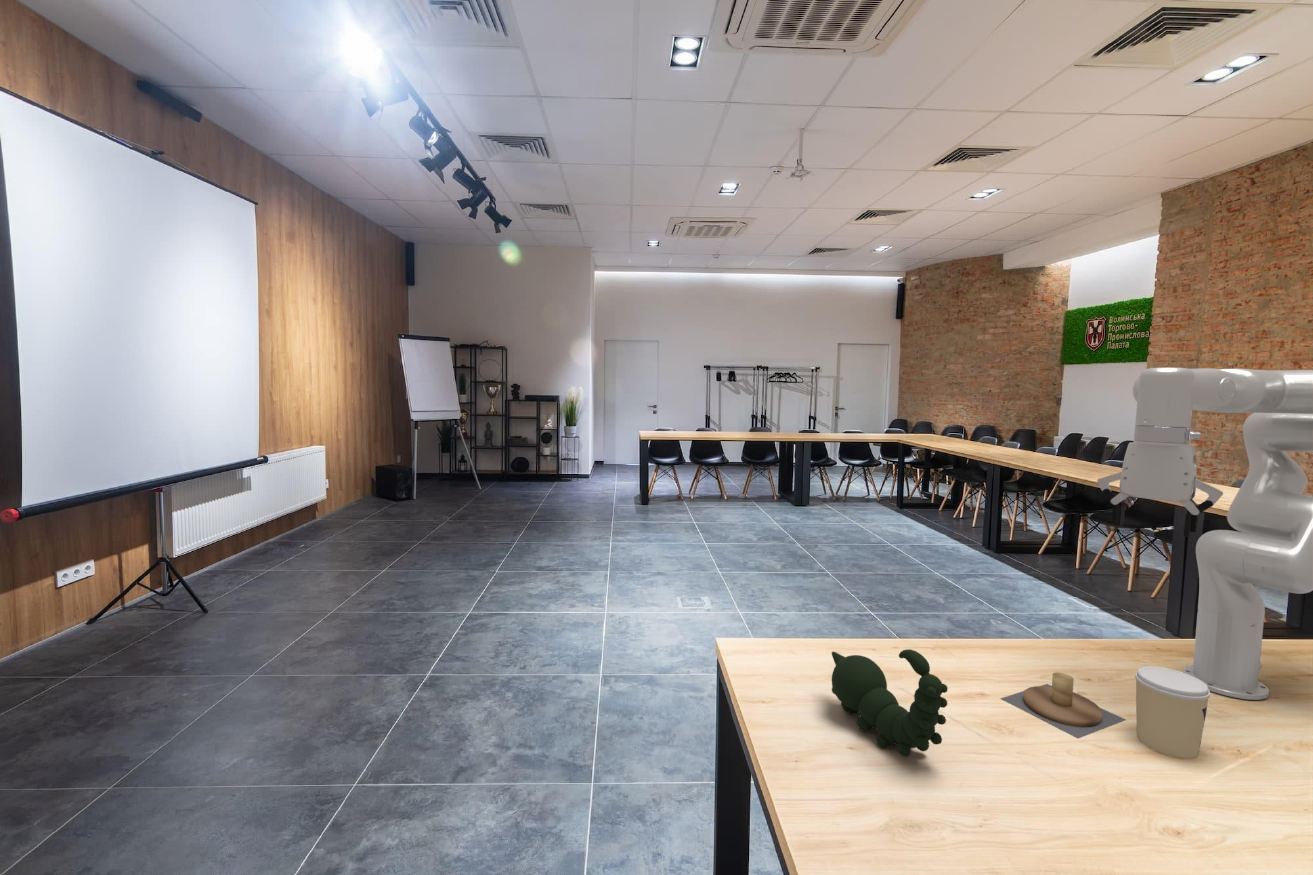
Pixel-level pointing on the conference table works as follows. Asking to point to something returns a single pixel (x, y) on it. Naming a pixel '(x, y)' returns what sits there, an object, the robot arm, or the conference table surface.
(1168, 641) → the conference table surface
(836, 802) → the conference table surface
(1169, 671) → the coffee cup
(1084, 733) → the mat
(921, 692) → the toy figurine
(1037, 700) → the lid
